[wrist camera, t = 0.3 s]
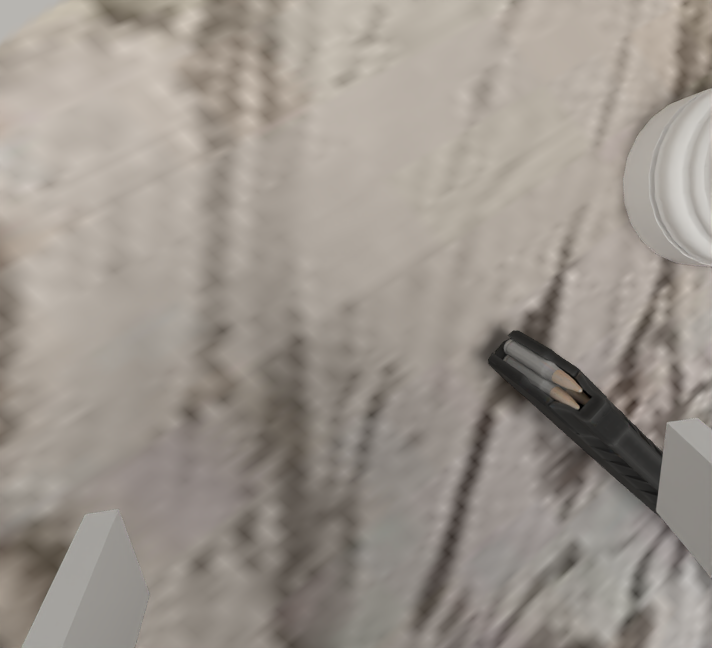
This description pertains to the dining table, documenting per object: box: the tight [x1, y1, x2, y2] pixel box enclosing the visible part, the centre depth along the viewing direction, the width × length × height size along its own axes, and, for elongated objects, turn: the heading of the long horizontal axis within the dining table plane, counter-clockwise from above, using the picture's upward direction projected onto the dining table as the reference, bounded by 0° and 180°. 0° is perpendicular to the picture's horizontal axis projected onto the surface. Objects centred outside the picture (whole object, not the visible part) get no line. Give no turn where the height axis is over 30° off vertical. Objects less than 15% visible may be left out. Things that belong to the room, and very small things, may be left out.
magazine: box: [488, 331, 663, 517], centre depth 42 cm, size 17×3×30 cm
